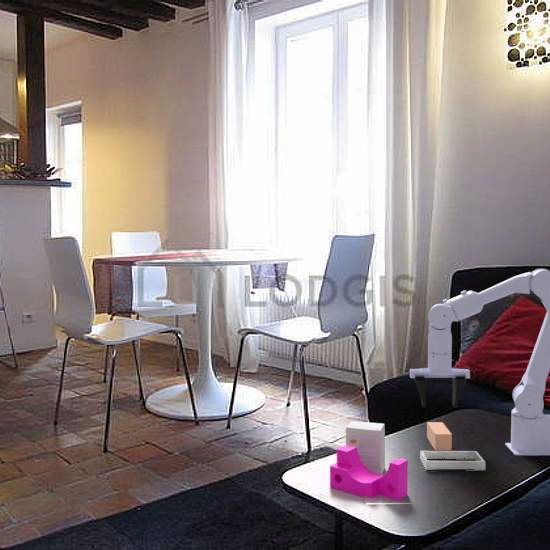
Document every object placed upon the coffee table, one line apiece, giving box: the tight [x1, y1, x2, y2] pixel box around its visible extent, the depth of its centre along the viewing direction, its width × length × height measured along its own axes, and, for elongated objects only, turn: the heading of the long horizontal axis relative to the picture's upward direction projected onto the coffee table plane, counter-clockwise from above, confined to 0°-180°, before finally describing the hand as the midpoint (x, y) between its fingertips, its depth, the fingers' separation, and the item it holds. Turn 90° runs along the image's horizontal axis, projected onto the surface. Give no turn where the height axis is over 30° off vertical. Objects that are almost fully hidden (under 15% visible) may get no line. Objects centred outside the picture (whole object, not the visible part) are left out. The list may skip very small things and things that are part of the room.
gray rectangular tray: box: [419, 450, 486, 471], centre depth 147 cm, size 13×7×2 cm, turn 88°
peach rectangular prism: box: [426, 421, 453, 451], centre depth 161 cm, size 4×10×5 cm, turn 178°
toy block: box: [329, 444, 409, 501], centre depth 134 cm, size 15×6×8 cm, turn 50°
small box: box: [345, 420, 386, 474], centre depth 145 cm, size 8×6×10 cm
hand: (439, 406), depth 161 cm, fingers open, 7 cm apart
